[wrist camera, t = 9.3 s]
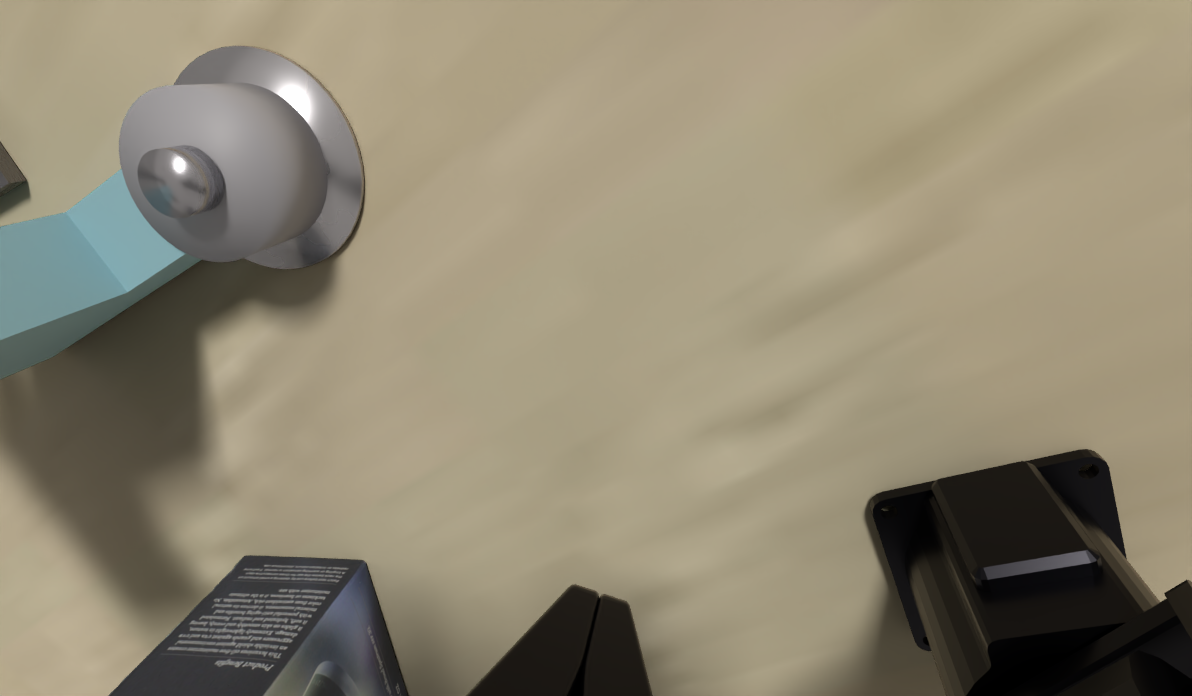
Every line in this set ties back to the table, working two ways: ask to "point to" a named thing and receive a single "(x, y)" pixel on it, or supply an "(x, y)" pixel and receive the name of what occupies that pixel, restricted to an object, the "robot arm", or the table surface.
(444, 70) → the table surface
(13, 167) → the keeper
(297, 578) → the small box
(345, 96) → the table surface
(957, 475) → the robot arm
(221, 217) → the link
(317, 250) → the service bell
